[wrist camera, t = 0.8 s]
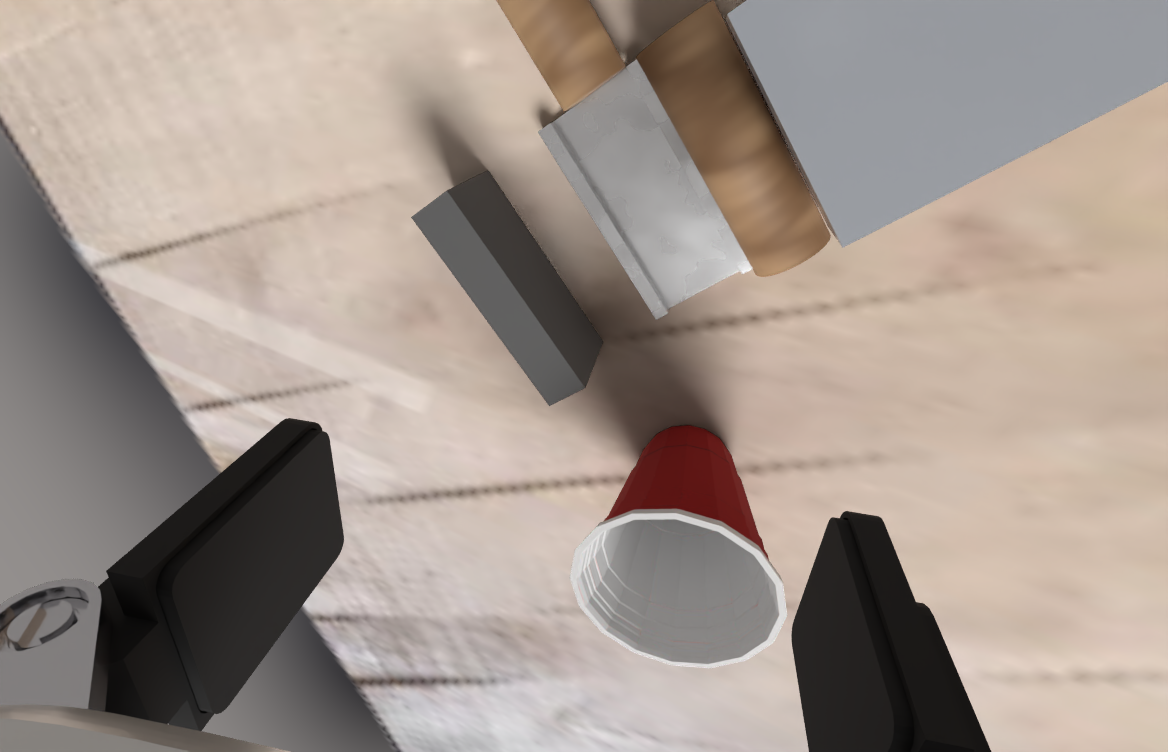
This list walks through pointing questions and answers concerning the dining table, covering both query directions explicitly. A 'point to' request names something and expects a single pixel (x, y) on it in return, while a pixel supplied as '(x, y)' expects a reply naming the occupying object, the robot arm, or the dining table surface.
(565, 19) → the roller
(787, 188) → the roller bed
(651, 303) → the grey flat plate
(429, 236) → the block
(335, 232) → the dining table surface
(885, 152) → the slab
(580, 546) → the plastic cup
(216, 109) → the dining table surface
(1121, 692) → the dining table surface
